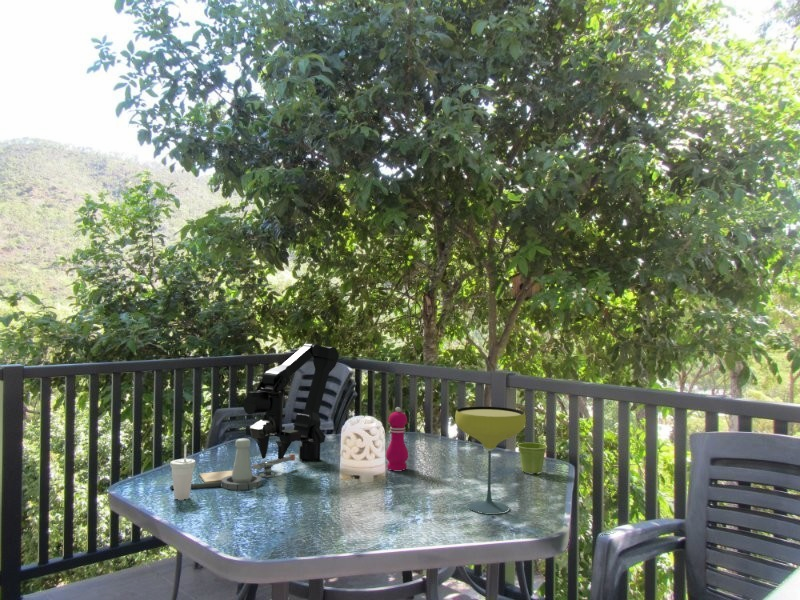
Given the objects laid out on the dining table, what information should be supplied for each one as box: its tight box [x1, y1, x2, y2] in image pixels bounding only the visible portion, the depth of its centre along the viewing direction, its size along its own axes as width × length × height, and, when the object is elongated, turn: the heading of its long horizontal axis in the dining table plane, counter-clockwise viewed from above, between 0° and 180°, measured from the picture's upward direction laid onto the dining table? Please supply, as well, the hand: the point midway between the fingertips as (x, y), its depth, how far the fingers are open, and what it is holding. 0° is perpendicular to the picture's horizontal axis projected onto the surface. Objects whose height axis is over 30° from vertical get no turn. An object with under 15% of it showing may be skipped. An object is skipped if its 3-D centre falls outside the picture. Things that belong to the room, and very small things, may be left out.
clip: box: [252, 453, 296, 470], centre depth 193 cm, size 17×3×2 cm, turn 148°
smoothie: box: [169, 444, 196, 501], centre depth 166 cm, size 6×6×14 cm
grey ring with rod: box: [169, 474, 263, 491], centre depth 178 cm, size 25×11×2 cm, turn 107°
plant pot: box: [516, 442, 548, 473], centre depth 200 cm, size 9×9×9 cm
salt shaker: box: [232, 437, 253, 483], centre depth 180 cm, size 6×6×13 cm
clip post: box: [258, 467, 276, 479], centre depth 190 cm, size 5×5×3 cm
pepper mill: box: [385, 406, 409, 470], centre depth 202 cm, size 7×7×20 cm
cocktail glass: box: [454, 406, 527, 513], centre depth 162 cm, size 18×18×25 cm
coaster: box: [198, 469, 233, 483], centre depth 187 cm, size 10×10×1 cm
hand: (271, 460), depth 198 cm, fingers open, 6 cm apart
